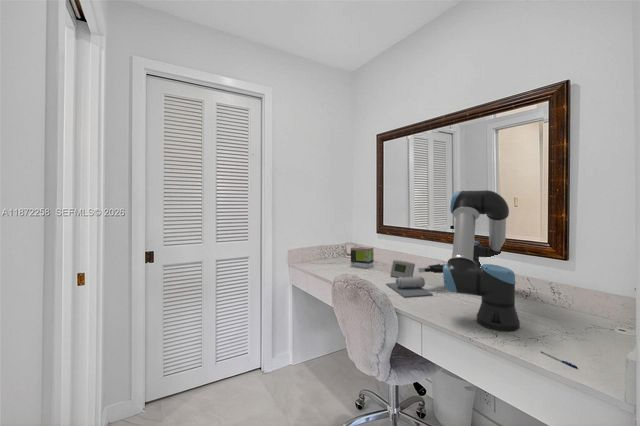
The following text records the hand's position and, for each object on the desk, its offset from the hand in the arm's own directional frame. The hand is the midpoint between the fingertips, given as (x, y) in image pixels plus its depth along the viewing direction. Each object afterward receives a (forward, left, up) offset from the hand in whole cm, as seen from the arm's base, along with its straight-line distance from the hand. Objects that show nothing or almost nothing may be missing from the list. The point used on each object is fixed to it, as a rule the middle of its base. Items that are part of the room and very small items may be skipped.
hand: (418, 269), depth 169 cm
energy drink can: (0, -3, -7) cm, 8 cm away
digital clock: (+25, -2, -11) cm, 28 cm away
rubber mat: (0, +7, -11) cm, 13 cm away
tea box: (+63, +13, -11) cm, 65 cm away
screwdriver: (-78, -5, -11) cm, 79 cm away
